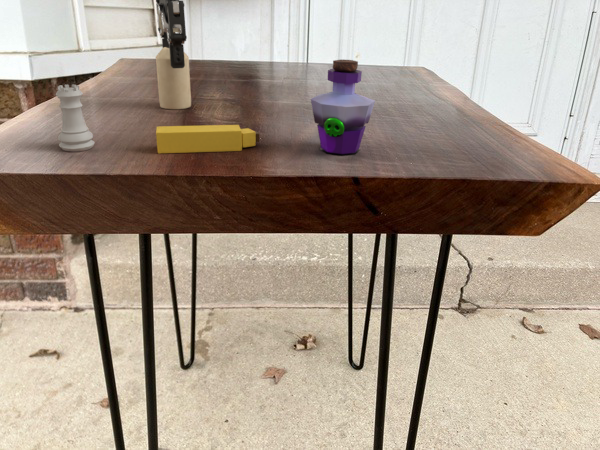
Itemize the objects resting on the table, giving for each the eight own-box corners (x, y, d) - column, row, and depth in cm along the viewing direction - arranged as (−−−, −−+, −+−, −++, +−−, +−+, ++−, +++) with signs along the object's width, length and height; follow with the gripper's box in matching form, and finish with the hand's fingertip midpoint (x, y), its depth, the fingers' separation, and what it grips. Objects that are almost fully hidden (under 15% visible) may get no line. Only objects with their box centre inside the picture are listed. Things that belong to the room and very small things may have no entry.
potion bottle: (309, 158, 69) (313, 63, 64) (307, 140, 77) (310, 54, 72) (375, 160, 69) (384, 65, 64) (366, 141, 77) (373, 56, 72)
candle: (195, 104, 96) (192, 46, 92) (184, 110, 91) (180, 50, 87) (167, 102, 97) (162, 44, 93) (154, 108, 92) (149, 48, 88)
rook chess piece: (59, 143, 71) (50, 83, 68) (95, 141, 73) (87, 82, 69) (58, 153, 68) (47, 90, 64) (95, 150, 69) (87, 89, 66)
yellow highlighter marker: (157, 153, 69) (156, 132, 68) (158, 145, 72) (156, 125, 71) (261, 150, 72) (261, 130, 70) (257, 143, 75) (257, 123, 74)
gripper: (137, -41, 89) (146, 58, 96) (146, -43, 77) (157, 71, 84) (182, -40, 91) (188, 57, 98) (198, -41, 79) (203, 69, 86)
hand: (173, 64), depth 91 cm, fingers open, 8 cm apart
